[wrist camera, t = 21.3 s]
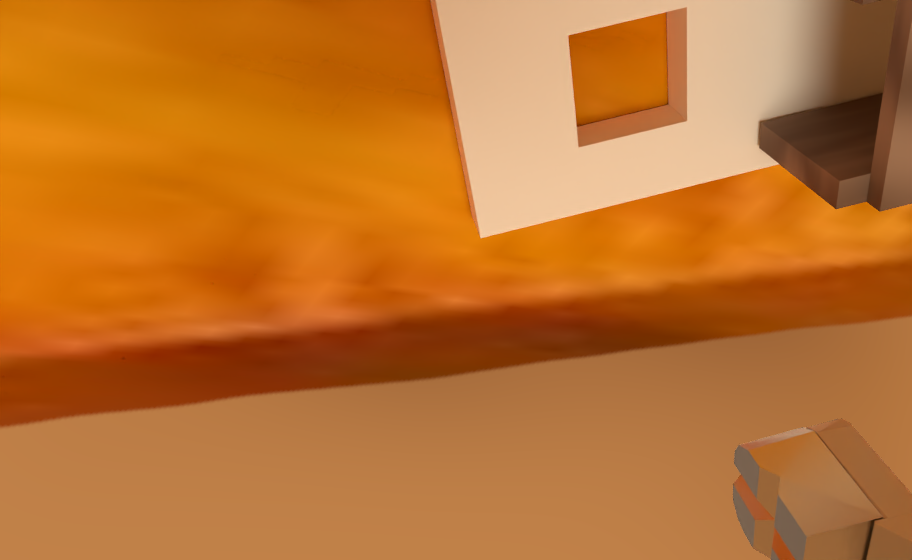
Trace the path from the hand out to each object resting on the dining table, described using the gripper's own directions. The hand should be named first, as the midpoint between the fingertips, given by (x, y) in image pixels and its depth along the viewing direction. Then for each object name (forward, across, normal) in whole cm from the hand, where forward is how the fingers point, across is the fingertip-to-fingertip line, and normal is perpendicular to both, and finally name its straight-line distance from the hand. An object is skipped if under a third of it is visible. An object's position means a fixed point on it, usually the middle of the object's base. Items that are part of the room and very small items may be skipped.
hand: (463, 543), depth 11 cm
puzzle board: (+31, -20, +6) cm, 37 cm away
